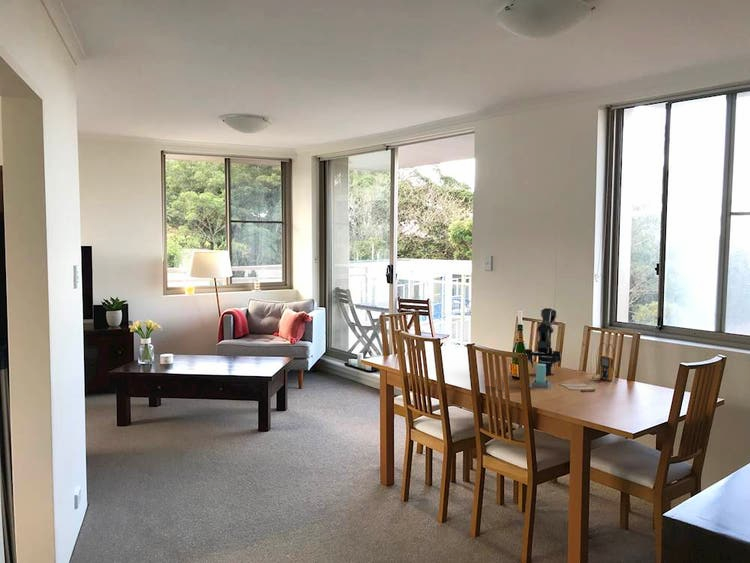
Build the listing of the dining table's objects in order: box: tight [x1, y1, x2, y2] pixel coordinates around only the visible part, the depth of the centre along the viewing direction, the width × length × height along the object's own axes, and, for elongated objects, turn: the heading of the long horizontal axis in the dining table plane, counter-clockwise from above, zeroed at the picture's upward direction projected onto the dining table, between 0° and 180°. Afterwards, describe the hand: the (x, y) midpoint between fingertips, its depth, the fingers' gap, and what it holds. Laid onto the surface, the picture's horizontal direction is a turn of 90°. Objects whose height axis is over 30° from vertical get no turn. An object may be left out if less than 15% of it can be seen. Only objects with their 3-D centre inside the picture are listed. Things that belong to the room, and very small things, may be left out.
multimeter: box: [592, 342, 619, 383], centre depth 323 cm, size 15×10×20 cm
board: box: [559, 382, 596, 393], centre depth 304 cm, size 13×13×1 cm
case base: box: [529, 378, 553, 390], centre depth 307 cm, size 14×11×3 cm
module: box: [535, 363, 547, 384], centre depth 307 cm, size 5×4×11 cm
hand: (541, 368), depth 309 cm, fingers open, 9 cm apart
